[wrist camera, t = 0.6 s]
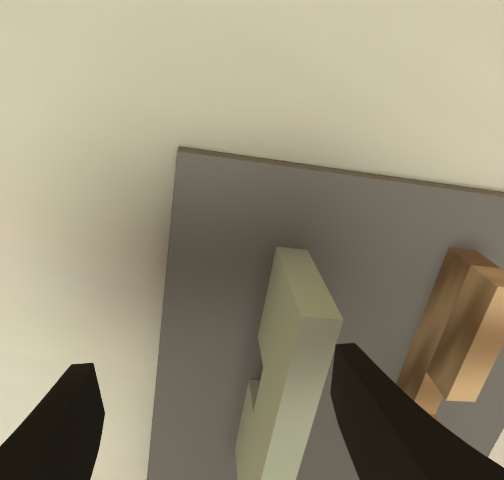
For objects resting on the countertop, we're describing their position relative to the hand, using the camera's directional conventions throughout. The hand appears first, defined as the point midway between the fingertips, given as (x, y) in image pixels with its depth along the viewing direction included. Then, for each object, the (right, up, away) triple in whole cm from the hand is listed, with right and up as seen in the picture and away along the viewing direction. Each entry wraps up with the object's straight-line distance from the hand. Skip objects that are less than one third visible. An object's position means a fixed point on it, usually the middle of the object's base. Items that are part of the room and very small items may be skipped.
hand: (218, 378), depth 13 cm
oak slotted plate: (+11, -4, +12) cm, 17 cm away
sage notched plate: (+2, -3, +11) cm, 11 cm away
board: (+7, -3, +13) cm, 15 cm away
